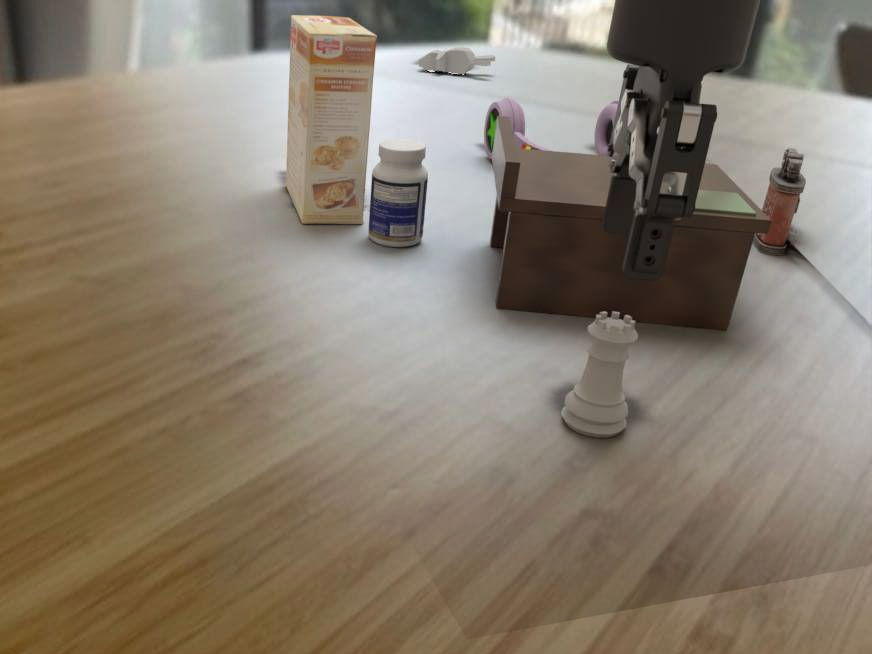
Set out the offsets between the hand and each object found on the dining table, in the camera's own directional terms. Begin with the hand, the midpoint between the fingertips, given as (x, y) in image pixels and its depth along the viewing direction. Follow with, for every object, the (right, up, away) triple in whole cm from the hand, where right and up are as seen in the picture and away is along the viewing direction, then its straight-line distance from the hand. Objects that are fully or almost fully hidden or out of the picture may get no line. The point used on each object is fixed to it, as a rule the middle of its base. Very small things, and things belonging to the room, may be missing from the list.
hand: (628, 253), depth 57 cm
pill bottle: (-12, +7, +38) cm, 40 cm away
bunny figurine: (+7, +57, +131) cm, 143 cm away
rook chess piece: (-1, -11, +6) cm, 13 cm away
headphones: (+14, +20, +65) cm, 70 cm away
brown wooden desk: (+7, +2, +30) cm, 31 cm away
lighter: (+30, +8, +43) cm, 53 cm away
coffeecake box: (-20, +13, +47) cm, 53 cm away
